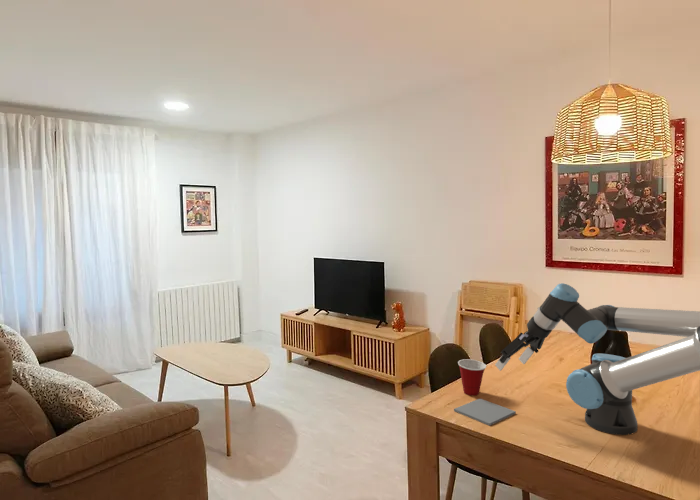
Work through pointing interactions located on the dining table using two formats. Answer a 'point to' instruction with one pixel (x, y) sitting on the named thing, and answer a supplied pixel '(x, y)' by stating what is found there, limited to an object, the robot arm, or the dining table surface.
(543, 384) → the dining table surface
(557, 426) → the dining table surface
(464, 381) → the plastic cup
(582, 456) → the dining table surface
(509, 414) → the rest mat
